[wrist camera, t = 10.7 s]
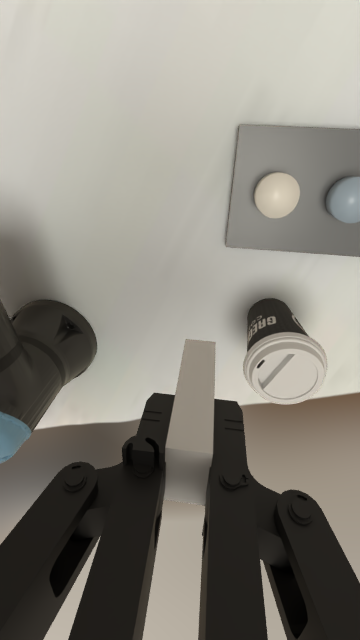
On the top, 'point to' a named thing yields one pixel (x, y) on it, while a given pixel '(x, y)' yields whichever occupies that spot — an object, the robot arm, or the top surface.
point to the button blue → (345, 200)
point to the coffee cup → (281, 355)
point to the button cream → (276, 194)
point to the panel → (314, 182)
